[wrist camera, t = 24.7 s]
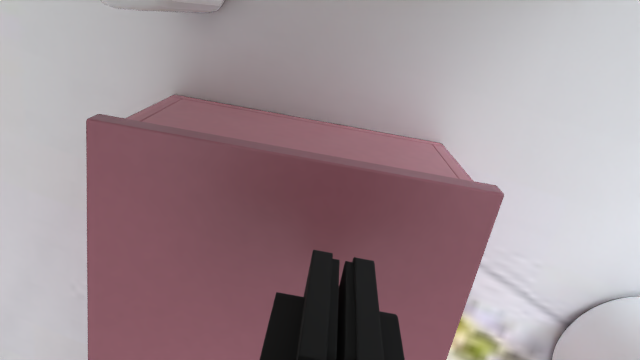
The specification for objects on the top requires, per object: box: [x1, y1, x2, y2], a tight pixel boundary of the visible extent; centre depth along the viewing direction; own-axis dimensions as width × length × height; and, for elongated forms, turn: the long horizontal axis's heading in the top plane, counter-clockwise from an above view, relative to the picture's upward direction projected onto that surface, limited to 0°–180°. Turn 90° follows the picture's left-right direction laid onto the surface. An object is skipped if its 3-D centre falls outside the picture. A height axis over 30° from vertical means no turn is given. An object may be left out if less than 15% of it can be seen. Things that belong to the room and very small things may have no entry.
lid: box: [86, 114, 504, 360], centre depth 17 cm, size 16×13×1 cm
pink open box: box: [125, 95, 473, 181], centre depth 21 cm, size 15×13×7 cm
